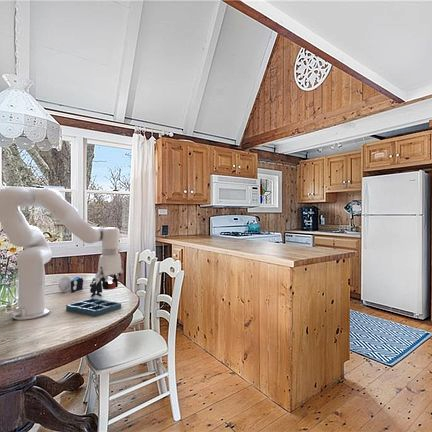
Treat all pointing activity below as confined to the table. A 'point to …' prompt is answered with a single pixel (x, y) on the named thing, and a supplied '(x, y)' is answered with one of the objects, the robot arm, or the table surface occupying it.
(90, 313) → the grid
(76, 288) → the toy
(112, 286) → the cylinder
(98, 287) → the toy
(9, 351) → the table surface
